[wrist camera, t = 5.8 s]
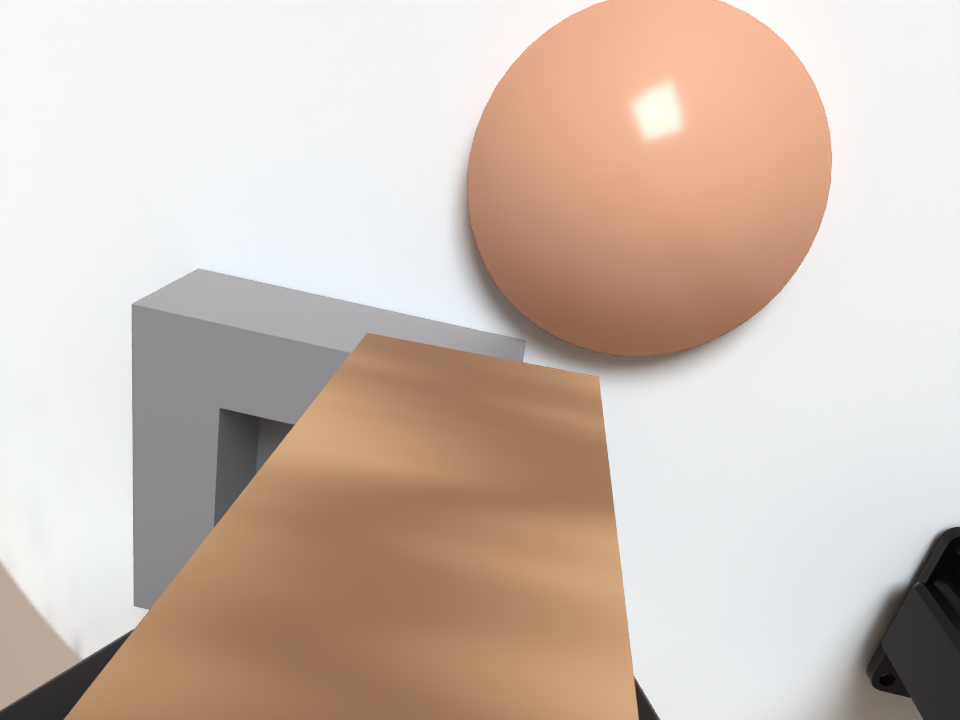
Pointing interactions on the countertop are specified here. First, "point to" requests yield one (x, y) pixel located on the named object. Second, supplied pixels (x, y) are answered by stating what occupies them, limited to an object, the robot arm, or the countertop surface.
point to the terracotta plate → (649, 175)
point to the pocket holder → (236, 396)
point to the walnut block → (402, 561)
